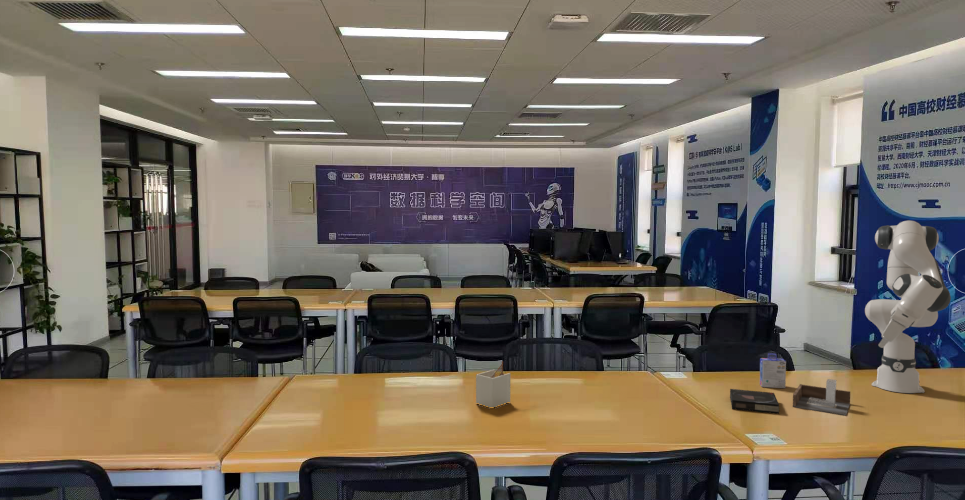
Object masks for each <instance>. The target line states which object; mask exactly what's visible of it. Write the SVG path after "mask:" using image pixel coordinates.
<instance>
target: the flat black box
mask: <svg viewBox="0 0 965 500" xmlns="http://www.w3.org/2000/svg"><path fill="white" fill-rule="evenodd" d="M729 398H730V399H729V400H730V406H731V410H735V409H737V410H736V411H747V412H755V413H756V412H757V413H763V414H764V413H766V414H776V415H780V404H779V401H778V399H777V396H776V395H775V393H774V392H770V391H769V392H768V391H761V390H760V391H759V390H758V391H756V390H748V389H739V388H738V389H737V388H730V389H729Z"/></svg>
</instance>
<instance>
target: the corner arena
mask: <svg viewBox="0 0 965 500" xmlns="http://www.w3.org/2000/svg"><path fill="white" fill-rule="evenodd" d="M810 397H812V398H819V399H825V400H826V387H821V386H814V385H809V384H807V385H806V384H802V383H799V385H798V387H797V388H796V390H795V391H794V392H793V394H792V408H796V409H803V410H807V411H808V410H809V411H813V412H814V411H815V412H822V413H827V414H832V415H833V414H834V415H837V416H838V415H839V416H845V417H846V416H847V415H848V414H847V413H848V412H849V409H850V406H851V391H849V390H842V389H836V405H835V407H828V406H822V405H816V404H810V403H808V400H809V398H810Z"/></svg>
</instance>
